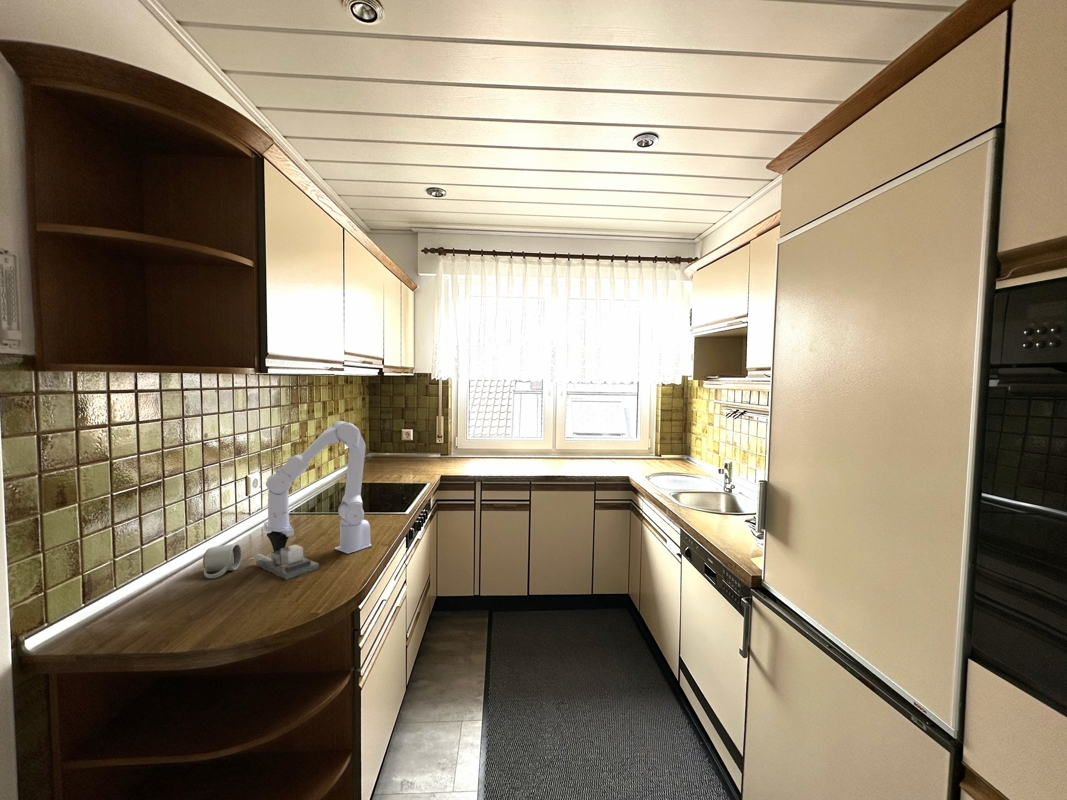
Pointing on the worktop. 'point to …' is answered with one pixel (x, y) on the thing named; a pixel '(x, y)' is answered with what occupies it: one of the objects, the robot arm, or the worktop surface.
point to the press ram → (276, 556)
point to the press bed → (288, 570)
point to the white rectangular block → (291, 555)
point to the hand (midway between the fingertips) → (279, 554)
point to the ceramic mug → (221, 559)
